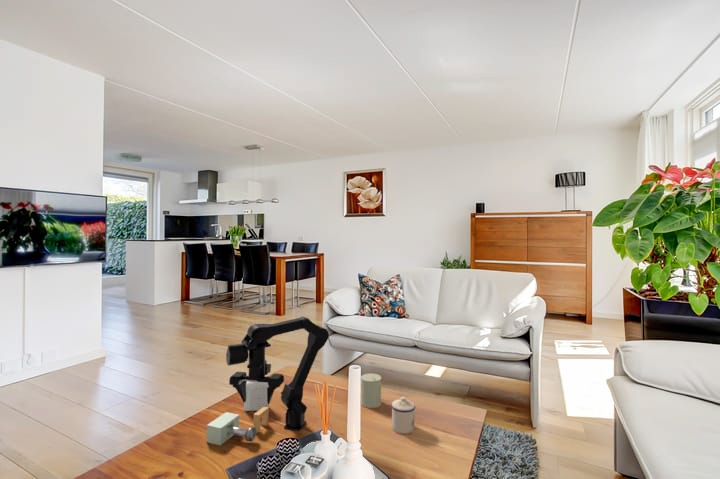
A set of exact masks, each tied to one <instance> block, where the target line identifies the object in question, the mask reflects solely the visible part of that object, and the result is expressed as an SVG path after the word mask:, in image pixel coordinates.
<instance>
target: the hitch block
mask: <svg viewBox="0 0 720 479" xmlns="http://www.w3.org/2000/svg"><path fill="white" fill-rule="evenodd" d="M228 425H230V426H234V427H239V428H240V414H237V413H234V412H233V413H232V412H228V411H226V412H224V413H222V414H221V415H219V416H218V417H216V418H215V419H213V420H212V421H211V422H209V423H208V424H206V443H209V444H213V445H217V446H222V445H223V444H224V443H225V442H227V441H228V440H230V439H231V438H232V437H233V436H235V435H234V434H230V433H226V432H227V426H228Z"/></svg>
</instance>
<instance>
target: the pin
mask: <svg viewBox="0 0 720 479" xmlns="http://www.w3.org/2000/svg"><path fill="white" fill-rule="evenodd" d="M226 433H230V434H234V435H233V436H240V437H244V438H245V441H247V442H251V443H252V442H253V441H254V440H255V438H256V437H257V436H256V435H257V432H256V428H254V426H249V427H248V428H242V427H240V426H239V427H234V426H230V425H228V426H227V432H226Z"/></svg>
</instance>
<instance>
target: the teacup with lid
mask: <svg viewBox="0 0 720 479" xmlns="http://www.w3.org/2000/svg"><path fill="white" fill-rule="evenodd" d="M415 409H416V404H415V403H414V402H413V401H411V400H409V399H407V398H406V397H405V396H401V397H400V399H399V398H398V399H395V400H394V401H392V402H391V428H392V429H393V431H394V432H396V433H398V434H402V435H404V434H410V433H412V432H414V430H415V412H416V411H415Z"/></svg>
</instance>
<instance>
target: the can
mask: <svg viewBox="0 0 720 479" xmlns="http://www.w3.org/2000/svg"><path fill="white" fill-rule="evenodd" d="M361 384H362V387H361V386H360V405H361V406H362V407H364V408H369V409H376V408H379V407H380V406H382V376H381V375H379V374H377V373H373V372H372V373H370V372H369V373H364V374H362V375H361V376H360V385H361Z"/></svg>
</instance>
